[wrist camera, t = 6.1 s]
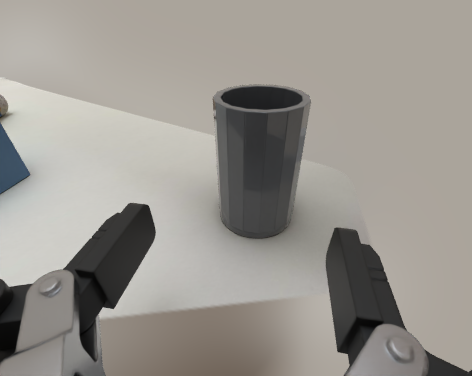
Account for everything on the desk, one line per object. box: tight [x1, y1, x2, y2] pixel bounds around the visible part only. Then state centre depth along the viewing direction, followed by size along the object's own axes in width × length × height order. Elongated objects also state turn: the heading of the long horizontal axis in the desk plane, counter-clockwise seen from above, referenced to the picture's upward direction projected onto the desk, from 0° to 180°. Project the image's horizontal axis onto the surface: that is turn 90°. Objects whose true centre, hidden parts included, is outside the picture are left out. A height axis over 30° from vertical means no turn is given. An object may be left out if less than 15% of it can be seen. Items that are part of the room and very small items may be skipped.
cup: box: [213, 84, 311, 238], centre depth 19 cm, size 6×6×10 cm
